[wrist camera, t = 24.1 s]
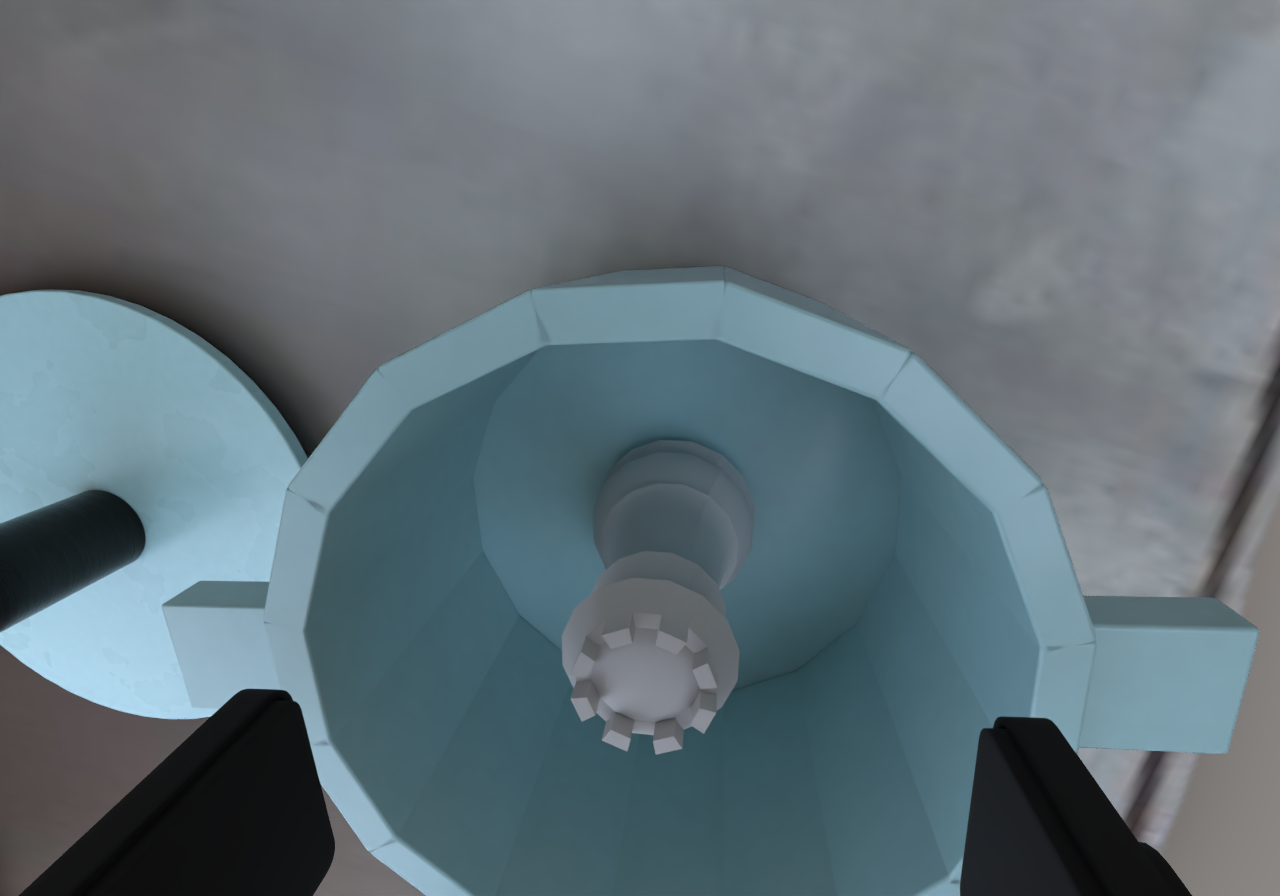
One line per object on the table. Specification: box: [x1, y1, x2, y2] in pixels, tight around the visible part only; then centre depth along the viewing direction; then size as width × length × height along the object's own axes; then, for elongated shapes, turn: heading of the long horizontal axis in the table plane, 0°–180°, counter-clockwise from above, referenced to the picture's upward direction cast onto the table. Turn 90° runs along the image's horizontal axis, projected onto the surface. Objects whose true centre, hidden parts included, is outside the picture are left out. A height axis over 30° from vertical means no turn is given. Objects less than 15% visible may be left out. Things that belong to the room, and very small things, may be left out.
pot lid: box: [0, 289, 308, 719], centre depth 18 cm, size 15×15×6 cm
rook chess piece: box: [562, 440, 755, 755], centre depth 14 cm, size 4×4×8 cm
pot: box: [162, 266, 1260, 896], centre depth 15 cm, size 14×19×8 cm
